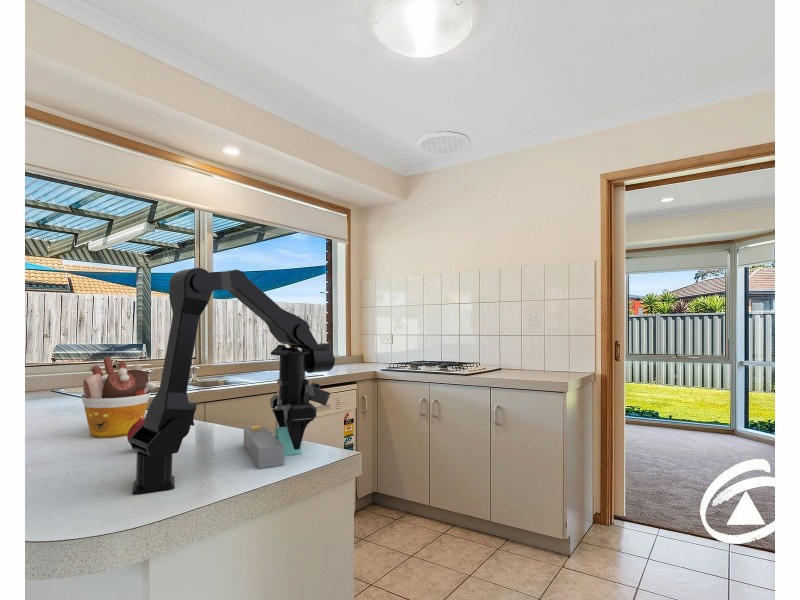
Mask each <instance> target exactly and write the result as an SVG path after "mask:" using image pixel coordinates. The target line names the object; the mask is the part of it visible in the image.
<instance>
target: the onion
mask: <svg viewBox="0 0 800 600" xmlns="http://www.w3.org/2000/svg"><path fill="white" fill-rule="evenodd" d="M145 417H146V415H144V416H143V415H142V416H140V419H139V420H138V421H137V422H136V423H134V424H133V425H132V426H131V428H130V429H129V431H128V435H127V436H126V438H127V442H128V443H129V445H130V446H131V444H130V442H129V439H130V438H131V437H132V436H133V435H134V433H135V432H136V431H137V430H138V429H139V428H140V427H141V426H142V425H143V424H144V420H145Z"/></svg>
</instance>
